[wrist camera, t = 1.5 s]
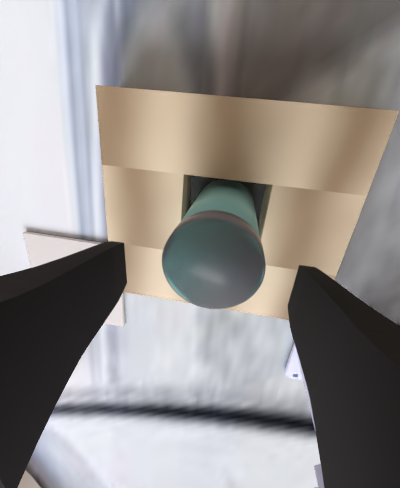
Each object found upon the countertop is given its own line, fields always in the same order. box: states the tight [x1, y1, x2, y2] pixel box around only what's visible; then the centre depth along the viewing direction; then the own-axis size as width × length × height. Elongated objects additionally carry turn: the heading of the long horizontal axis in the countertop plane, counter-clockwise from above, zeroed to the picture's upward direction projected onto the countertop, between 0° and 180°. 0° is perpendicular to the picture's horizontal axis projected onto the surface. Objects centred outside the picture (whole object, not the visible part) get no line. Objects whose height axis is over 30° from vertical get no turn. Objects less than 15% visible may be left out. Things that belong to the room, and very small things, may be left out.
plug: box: [162, 179, 266, 309], centre depth 15 cm, size 4×4×9 cm
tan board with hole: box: [96, 85, 399, 320], centre depth 17 cm, size 16×14×3 cm
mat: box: [23, 231, 125, 327], centre depth 24 cm, size 9×9×1 cm
